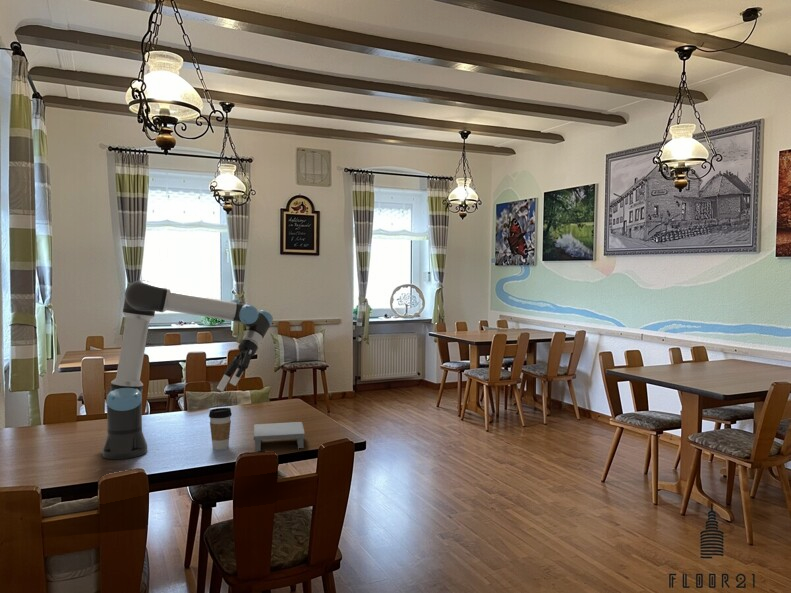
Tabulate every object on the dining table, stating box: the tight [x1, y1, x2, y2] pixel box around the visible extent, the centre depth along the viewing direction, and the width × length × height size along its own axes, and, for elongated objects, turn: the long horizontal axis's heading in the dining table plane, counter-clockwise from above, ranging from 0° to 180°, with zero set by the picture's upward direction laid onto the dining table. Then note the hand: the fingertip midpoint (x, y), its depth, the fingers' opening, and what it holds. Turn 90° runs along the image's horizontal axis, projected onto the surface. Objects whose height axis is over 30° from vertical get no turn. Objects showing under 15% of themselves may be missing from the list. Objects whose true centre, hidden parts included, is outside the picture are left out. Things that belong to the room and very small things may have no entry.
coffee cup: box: [208, 407, 232, 451], centre depth 222 cm, size 8×8×15 cm
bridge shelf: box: [253, 421, 306, 453], centre depth 227 cm, size 19×18×6 cm
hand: (225, 387), depth 231 cm, fingers open, 13 cm apart
